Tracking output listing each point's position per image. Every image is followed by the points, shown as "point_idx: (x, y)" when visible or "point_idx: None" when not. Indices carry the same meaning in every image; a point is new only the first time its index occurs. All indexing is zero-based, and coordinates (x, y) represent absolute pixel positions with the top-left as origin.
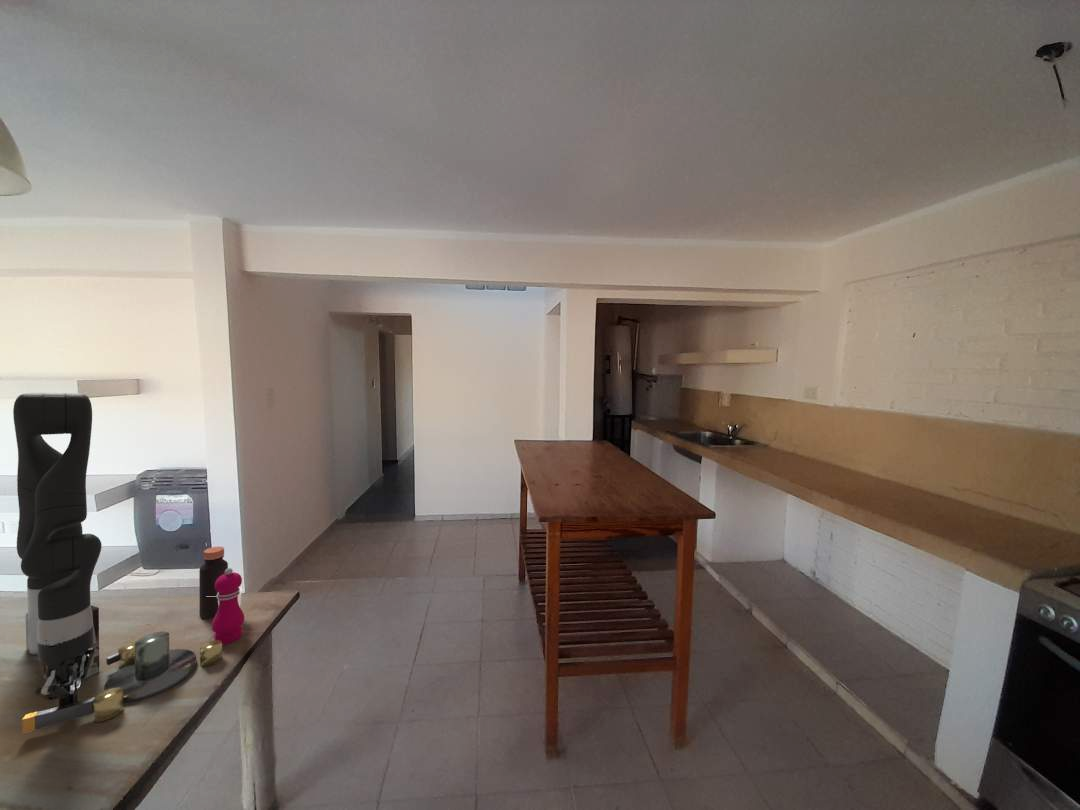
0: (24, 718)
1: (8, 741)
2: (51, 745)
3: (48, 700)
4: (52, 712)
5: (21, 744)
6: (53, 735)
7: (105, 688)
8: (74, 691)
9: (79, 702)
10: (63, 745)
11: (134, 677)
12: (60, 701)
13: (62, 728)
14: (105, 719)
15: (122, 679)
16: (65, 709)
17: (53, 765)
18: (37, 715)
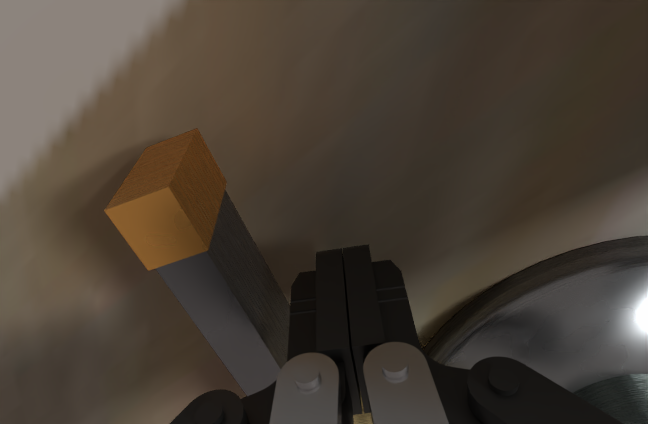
0: (116, 217)
1: (151, 29)
2: (133, 301)
3: (180, 414)
4: (208, 332)
5: (131, 145)
6: None
7: (528, 313)
8: (357, 412)
9: None
10: (136, 347)
11: (585, 385)
12: (293, 343)
13: None
14: None
15: (595, 340)
16: (239, 378)
17: (28, 388)
18: (162, 278)
